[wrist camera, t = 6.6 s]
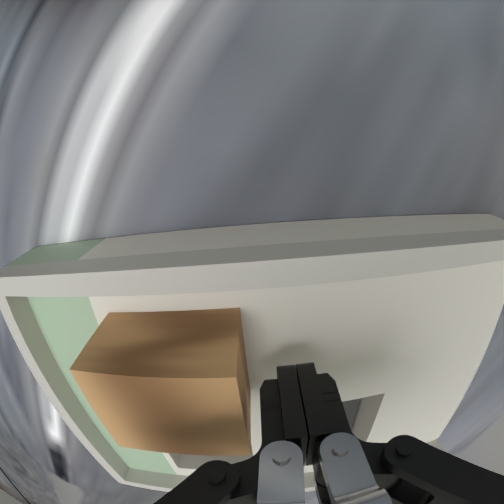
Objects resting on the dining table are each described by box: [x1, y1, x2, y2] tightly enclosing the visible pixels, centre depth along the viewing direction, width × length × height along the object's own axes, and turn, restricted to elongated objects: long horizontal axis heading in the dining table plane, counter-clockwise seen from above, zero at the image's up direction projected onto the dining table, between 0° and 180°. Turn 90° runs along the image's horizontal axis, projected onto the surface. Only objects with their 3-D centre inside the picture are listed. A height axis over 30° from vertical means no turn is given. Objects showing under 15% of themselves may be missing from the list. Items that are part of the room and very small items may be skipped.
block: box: [69, 307, 251, 456], centre depth 11 cm, size 6×5×4 cm
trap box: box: [0, 214, 504, 492], centre depth 15 cm, size 28×20×4 cm
